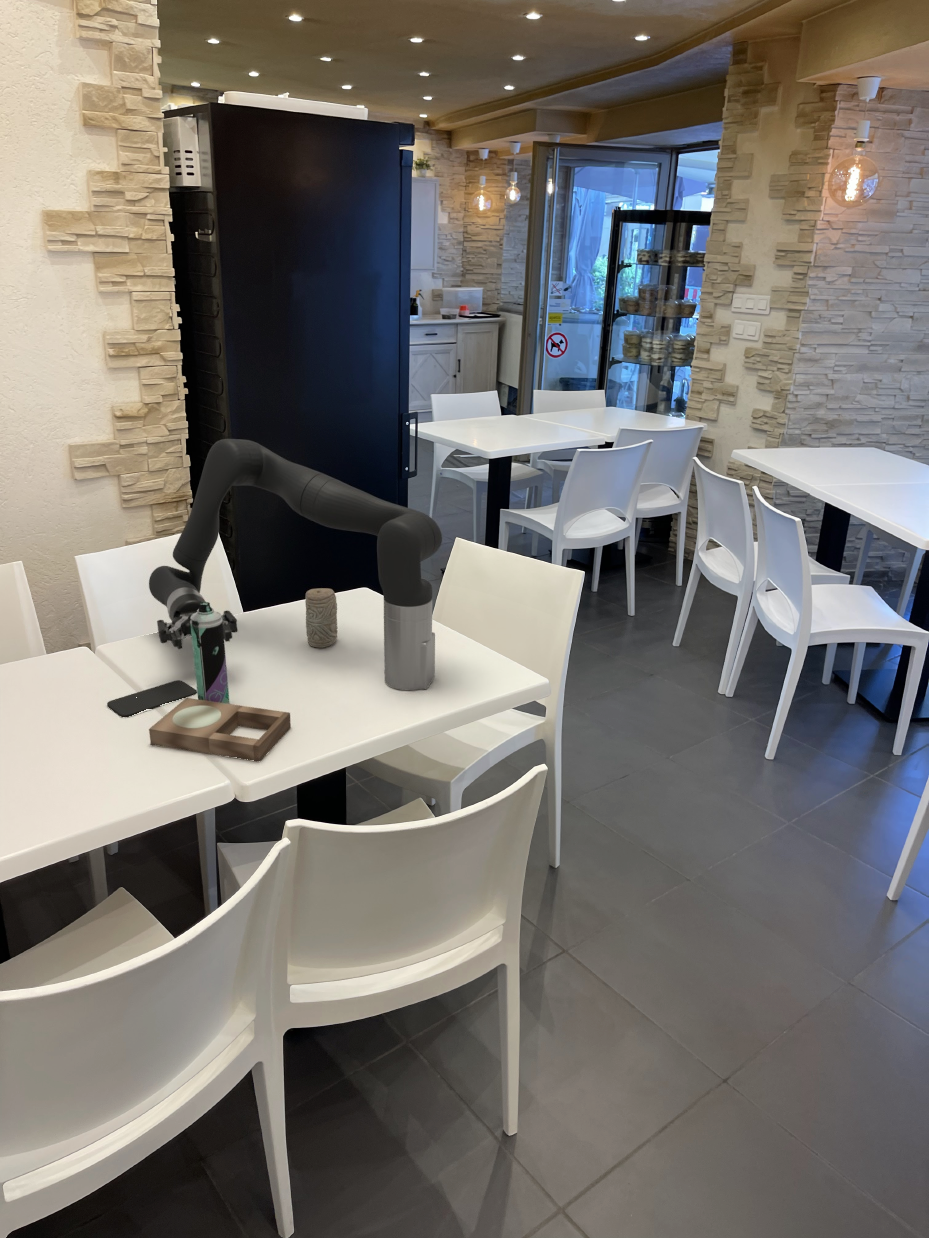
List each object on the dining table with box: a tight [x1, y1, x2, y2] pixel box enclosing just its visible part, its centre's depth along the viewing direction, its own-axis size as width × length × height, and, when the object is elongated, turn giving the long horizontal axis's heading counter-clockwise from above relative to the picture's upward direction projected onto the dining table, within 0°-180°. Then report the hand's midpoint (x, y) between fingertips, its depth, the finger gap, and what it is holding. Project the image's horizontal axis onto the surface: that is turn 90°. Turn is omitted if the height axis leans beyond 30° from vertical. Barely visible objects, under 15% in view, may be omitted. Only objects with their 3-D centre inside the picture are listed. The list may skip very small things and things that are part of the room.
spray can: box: [190, 601, 230, 704], centre depth 161 cm, size 6×6×20 cm
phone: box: [106, 679, 197, 718], centre depth 167 cm, size 7×1×15 cm
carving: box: [304, 587, 338, 649], centre depth 190 cm, size 6×8×12 cm
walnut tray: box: [148, 697, 292, 762], centre depth 154 cm, size 20×12×3 cm, turn 76°
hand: (204, 640), depth 165 cm, fingers open, 8 cm apart
